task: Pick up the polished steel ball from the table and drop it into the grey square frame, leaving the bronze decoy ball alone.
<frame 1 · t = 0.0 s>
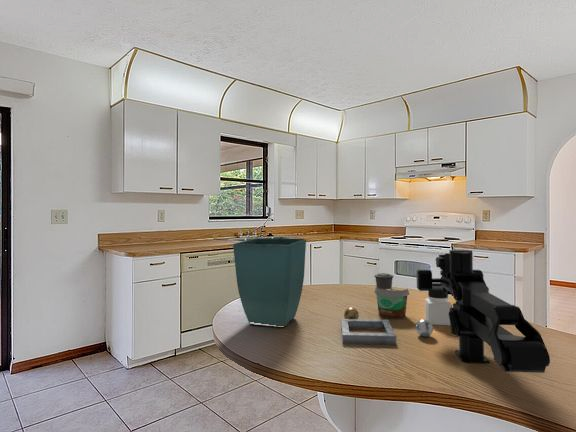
hand: (440, 275, 117), 17 cm above the table, tool horizontal, fingers open, 9 cm apart
bronze ball: (351, 315, 123), point 2 cm above the table
grey square frame: (366, 334, 110), on the table
steel ball: (424, 328, 108), point 2 cm above the table
flower pot: (272, 322, 125), on the table
food container: (390, 317, 128), on the table
medicine bottle: (438, 322, 121), on the table
coffee cup: (384, 297, 156), on the table
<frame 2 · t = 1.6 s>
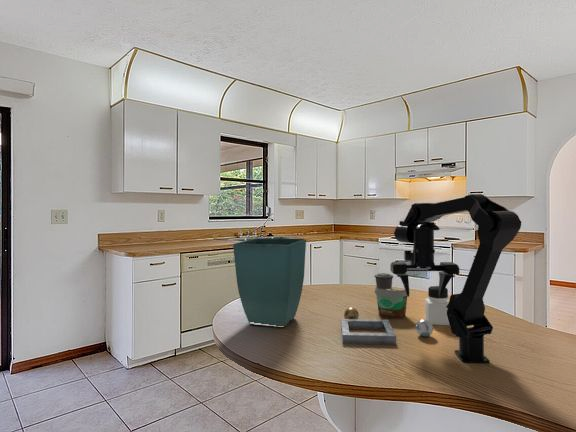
hand: (423, 296, 108), 12 cm above the table, tool pointing down, fingers open, 9 cm apart
nothing on the table moved.
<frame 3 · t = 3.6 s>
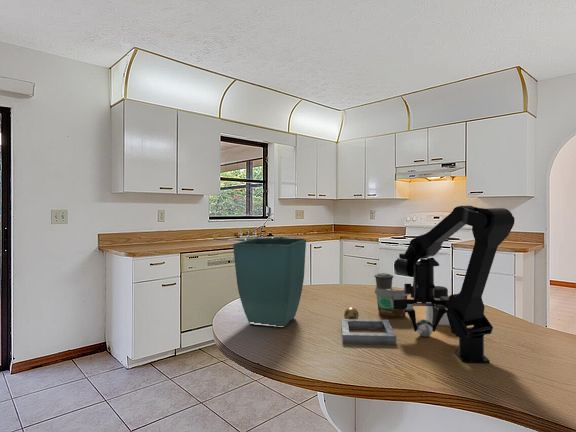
hand: (424, 331, 108), 2 cm above the table, tool pointing down, fingers closed on steel ball, 5 cm apart
steel ball: (424, 328, 108), point 2 cm above the table, touching gripper
everything else where it was.
when the fingers open (4 cm above the table, at t = 8.2 s): steel ball drops 2 cm, point 2 cm above the table.
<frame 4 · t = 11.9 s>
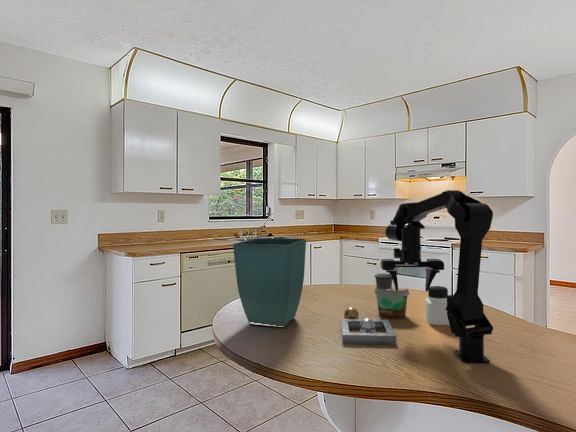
hand: (411, 291, 115), 12 cm above the table, tool pointing down, fingers open, 9 cm apart
steel ball: (367, 326, 110), point 2 cm above the table, tilted 5°
everything else where it was.
at the end: steel ball inside the target area on the grey square frame (0.3 cm from its centre), point 2.5 cm above the grey square frame's base; the gripper is holding nothing; bronze ball moved 0.0 cm from its start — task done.
